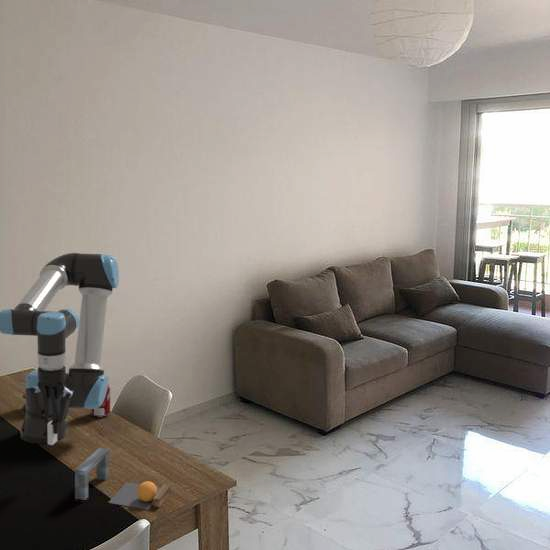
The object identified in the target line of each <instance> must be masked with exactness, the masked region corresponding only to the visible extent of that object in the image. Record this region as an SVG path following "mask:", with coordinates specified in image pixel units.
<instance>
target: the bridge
mask: <svg viewBox="0 0 550 550" xmlns="http://www.w3.org/2000/svg"><path fill="white" fill-rule="evenodd" d="M109 465H110V449H109V448H103V447H99V448H97V449H96V450H95V451H94V452H93V453H92V454H91V455H90V456H89V457H87V458H86V459H85V460H84V461H83V462H82V463H81V464H79V466H77V467H76V468H75V470H74V489H75V490H74V500H75V499H81V500H86V499H87V498H88V499H89V475H90V474H89V472H90V471H91V470H92V469H93V468H95V466H96V477H95V478H96V480H98V481H99V480H100V481H108V479H109V478H110V477H109V474H110V473H109V469H110V468H109ZM88 499H87V500H88ZM87 500H86V501H87Z"/></svg>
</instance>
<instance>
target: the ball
mask: <svg viewBox="0 0 550 550" xmlns="http://www.w3.org/2000/svg"><path fill="white" fill-rule="evenodd" d="M140 484H141V485H140V486H139V487H138V491H137V494H138V497H139V498H140V500H142V501H144V502H149V501H151V500H153V498H154V497H155V495H156V494H157V487H158V486H157V485H156V484H155V483H153V482H152V481H149V480H148V481H144V482H142V483H140Z"/></svg>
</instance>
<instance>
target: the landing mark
mask: <svg viewBox="0 0 550 550" xmlns="http://www.w3.org/2000/svg"><path fill="white" fill-rule="evenodd" d="M141 484H142V483H135V482H134V483H133V482H128V481H127V482H126V483H125V484H123V486H122V487H121V488H120V489H119V490H118V491H117V492H116V493H115V494H114V496H113V497H112V498H111V499H110V500H109V501H108V502H107V503H108V504H112V505H116V506H121V507H122V506H124V507H128V508H135V509H140V510H146V511H149V510H150V509H151V507H153V500H151V501H149V502H144V501H142V500H140V498H139V497H138V494H137V491H138V487H139V486H140V485H141ZM156 487H157V493H158V491H159V490H160V489H161V488H162V487H158V486H156Z"/></svg>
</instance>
